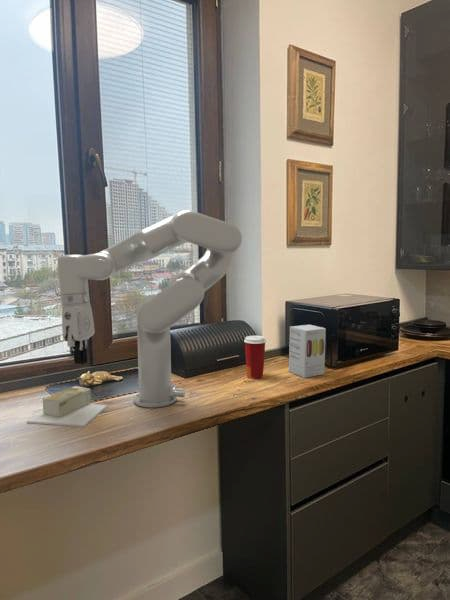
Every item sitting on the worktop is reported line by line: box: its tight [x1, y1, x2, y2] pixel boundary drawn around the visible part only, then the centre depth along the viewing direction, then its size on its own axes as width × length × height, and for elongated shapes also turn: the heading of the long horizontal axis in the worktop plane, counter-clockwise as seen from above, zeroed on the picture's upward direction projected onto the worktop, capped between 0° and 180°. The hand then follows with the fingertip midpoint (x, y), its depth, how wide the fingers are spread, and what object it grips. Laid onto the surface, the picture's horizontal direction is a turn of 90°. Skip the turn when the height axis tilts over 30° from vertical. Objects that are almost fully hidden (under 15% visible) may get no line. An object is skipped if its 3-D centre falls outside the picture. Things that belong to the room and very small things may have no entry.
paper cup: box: [243, 335, 267, 380], centre depth 152 cm, size 8×8×14 cm
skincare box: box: [42, 385, 92, 417], centre depth 122 cm, size 6×4×12 cm
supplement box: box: [288, 324, 327, 379], centre depth 156 cm, size 10×9×17 cm
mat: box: [26, 403, 108, 428], centre depth 119 cm, size 16×14×1 cm
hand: (81, 362), depth 124 cm, fingers closed
